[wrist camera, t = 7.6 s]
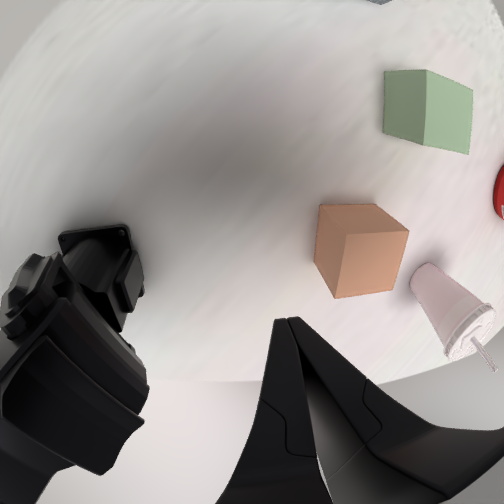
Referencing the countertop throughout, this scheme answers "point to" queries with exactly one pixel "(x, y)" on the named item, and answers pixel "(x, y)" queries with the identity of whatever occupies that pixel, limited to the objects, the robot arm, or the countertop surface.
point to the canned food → (499, 194)
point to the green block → (428, 109)
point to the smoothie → (453, 313)
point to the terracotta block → (358, 249)
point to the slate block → (379, 1)
